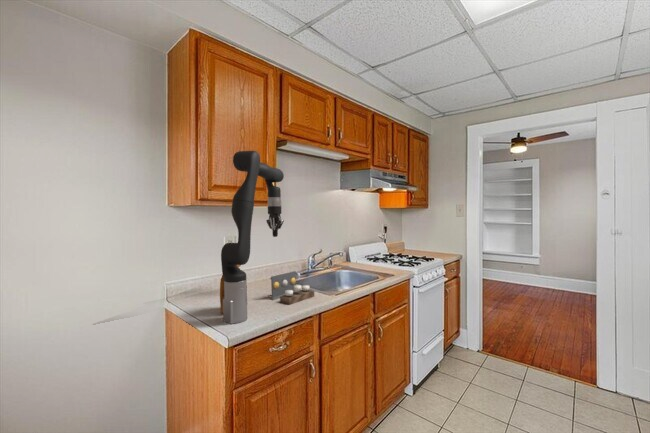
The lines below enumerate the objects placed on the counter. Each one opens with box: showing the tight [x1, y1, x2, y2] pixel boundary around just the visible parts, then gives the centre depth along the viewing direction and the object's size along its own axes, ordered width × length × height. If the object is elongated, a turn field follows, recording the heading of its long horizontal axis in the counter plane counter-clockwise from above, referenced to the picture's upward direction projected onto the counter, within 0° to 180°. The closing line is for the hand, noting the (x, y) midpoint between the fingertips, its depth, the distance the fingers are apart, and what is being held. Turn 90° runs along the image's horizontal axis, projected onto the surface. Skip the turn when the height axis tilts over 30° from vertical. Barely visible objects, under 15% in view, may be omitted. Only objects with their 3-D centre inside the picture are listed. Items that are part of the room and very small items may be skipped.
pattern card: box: [269, 270, 297, 301], centre depth 168 cm, size 18×3×12 cm, turn 139°
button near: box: [285, 290, 293, 296], centre depth 156 cm, size 4×4×2 cm
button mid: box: [294, 284, 302, 291], centre depth 161 cm, size 4×4×2 cm
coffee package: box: [219, 265, 242, 315], centre depth 144 cm, size 10×12×22 cm
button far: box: [301, 284, 310, 291], centre depth 165 cm, size 4×4×2 cm
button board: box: [279, 289, 315, 306], centre depth 161 cm, size 18×7×3 cm, turn 139°
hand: (275, 236), depth 172 cm, fingers closed
